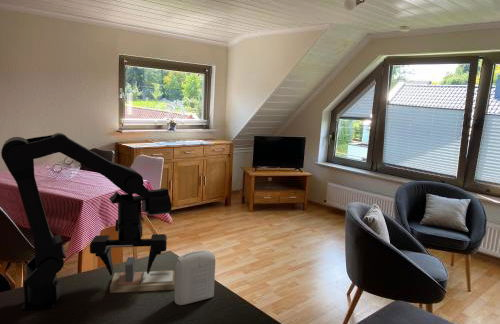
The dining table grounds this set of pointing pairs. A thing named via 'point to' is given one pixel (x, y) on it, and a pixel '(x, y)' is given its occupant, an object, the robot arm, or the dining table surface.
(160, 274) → the ticket board
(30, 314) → the dining table surface
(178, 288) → the photo printer
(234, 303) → the dining table surface
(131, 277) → the stub
